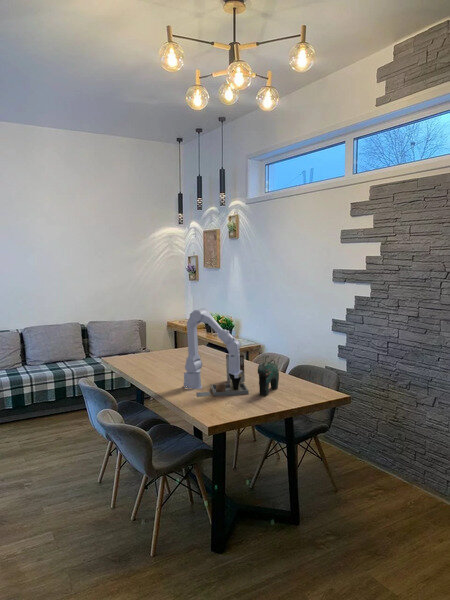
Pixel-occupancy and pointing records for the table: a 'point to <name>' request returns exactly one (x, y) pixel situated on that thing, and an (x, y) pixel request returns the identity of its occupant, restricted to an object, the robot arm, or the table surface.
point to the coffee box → (240, 368)
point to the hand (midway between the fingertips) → (235, 388)
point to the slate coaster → (203, 394)
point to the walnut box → (220, 387)
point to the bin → (228, 392)
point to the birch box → (232, 386)
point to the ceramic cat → (268, 376)
